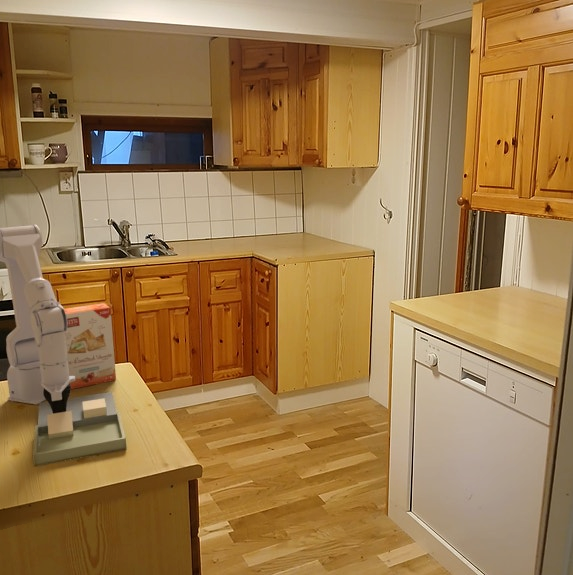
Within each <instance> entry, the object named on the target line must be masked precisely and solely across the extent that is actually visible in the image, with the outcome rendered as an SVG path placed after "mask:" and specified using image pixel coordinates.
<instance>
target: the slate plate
mask: <svg viewBox="0 0 573 575" xmlns="http://www.w3.org/2000/svg"><path fill="white" fill-rule="evenodd" d="M103 398H105V403H106V410H107V415H103V416H97V417H91V418H85V419H84V413H83V403H82V402H84V401H90V400H97V399H103ZM67 411H71V412H72V421H73V428H76V427H82V426H88V425H94V424H99V423H105V422H111V421H117V412H118V410H117V407H116V403H115V399H114V394H113V391H109V392H102V393H95V394H94V393H93V394H88V395H82V396H75V397H68V400H67V406H66V412H67ZM48 414H53V412H52V409H51V406H50V404H49V402H48V401H43V402H41V403H39V404H38V417H37V425H38V429H39V434H41V433H47V432H48V418H47V415H48Z"/></svg>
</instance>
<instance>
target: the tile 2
mask: <svg viewBox="0 0 573 575" xmlns="http://www.w3.org/2000/svg"><path fill="white" fill-rule="evenodd" d="M82 403H83V413H84V419H85V418H91V417H97V416H103V415H107V410H106V403H105V398H103V399H97V400H90V401H84V402H82Z"/></svg>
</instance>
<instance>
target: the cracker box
mask: <svg viewBox="0 0 573 575" xmlns="http://www.w3.org/2000/svg"><path fill="white" fill-rule="evenodd" d="M64 310H65V313H66V317H67V325H68V326H67V331H63V332H64V333H65V341H66V350H67V359H68V368H69V376H75V381H73V382H70V389H71V390H73V389H78V388H84V387H88V386H92V385H97V384H101V383H107V382H111V381H116V380H117V377H116V375H117V373H116V361H115V350H114V347H115V346H114V335H113V325H112V324H113V323H112V322H113V321H112V312H111V311H112V310H111V306H109V305H108V304H107V303H105V302H102V303H101V302H100V303H95V304H88V305H81V306H73V307H68V308H67V307H66V308H64Z"/></svg>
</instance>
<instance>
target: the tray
mask: <svg viewBox="0 0 573 575" xmlns="http://www.w3.org/2000/svg"><path fill="white" fill-rule="evenodd" d="M73 433H74V435H71V436H65V437H59V438H53V439H49V435H48V432H47V433H41V434H39V429H38V424H36V425H34V436H33V448H32V449H33V450H32V459H33V467H38V466H45V465H49V464H54V463H55V464H56V463H59V462H60V463H61V462H65V460H66V461H70V459H71V460H76V459H80V457H82V458H85V457H86V456H87V457H93V456H97V455H103V454H107V453H108V454H109V453H112V452H113V453H114V452H118V451H123V450H124V451H125V450H127V448H128V447H127V437H126V433H125V429H124V425H123V422H122V417H121V413H120V411H117V421H111V422H105V423H99V424H94V425H88V426H82V427H76V428H73ZM102 453H103V454H102Z"/></svg>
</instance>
